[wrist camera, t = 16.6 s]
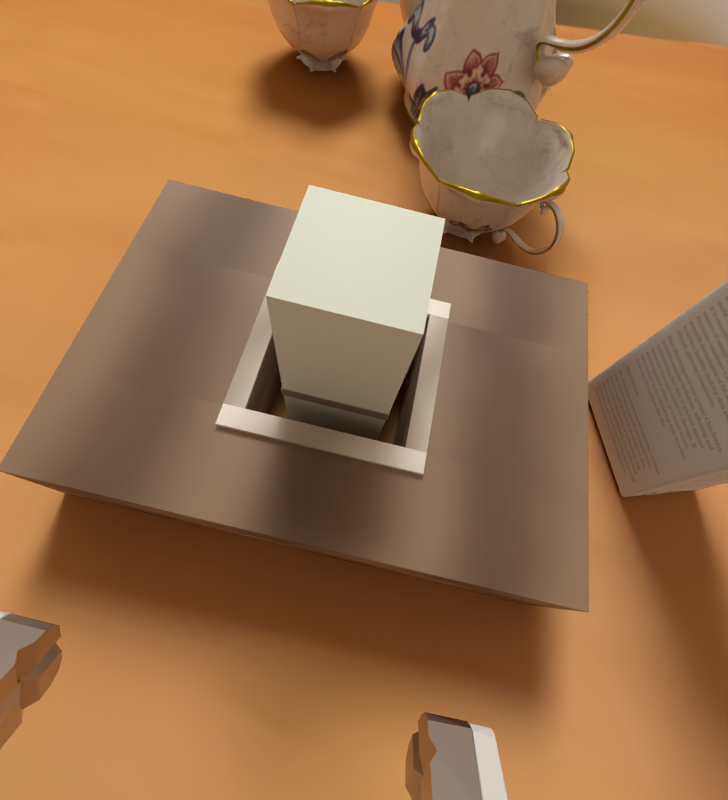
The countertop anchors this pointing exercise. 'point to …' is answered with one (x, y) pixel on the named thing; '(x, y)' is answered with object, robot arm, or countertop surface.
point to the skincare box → (669, 404)
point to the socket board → (320, 447)
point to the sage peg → (350, 308)
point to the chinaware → (467, 98)
